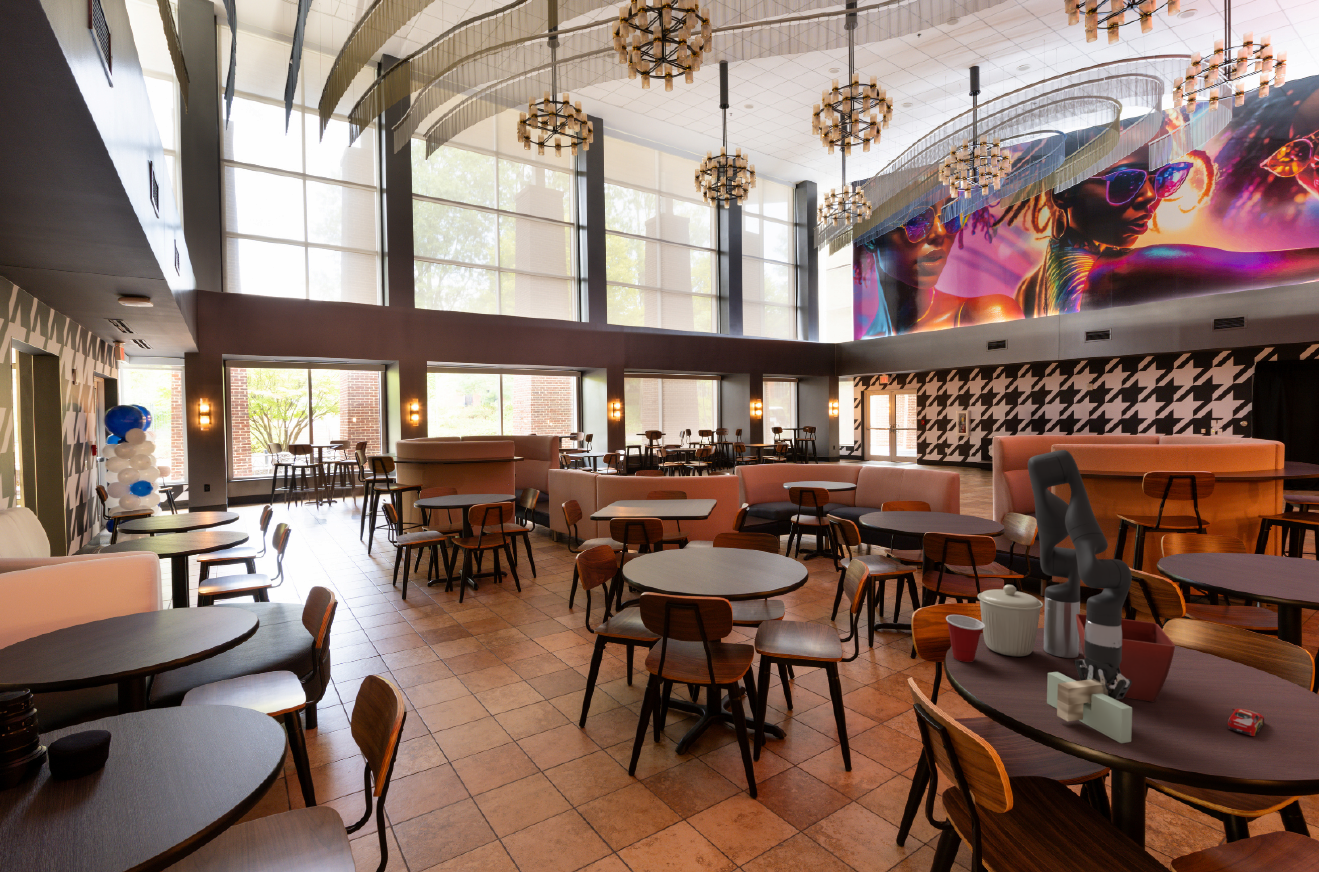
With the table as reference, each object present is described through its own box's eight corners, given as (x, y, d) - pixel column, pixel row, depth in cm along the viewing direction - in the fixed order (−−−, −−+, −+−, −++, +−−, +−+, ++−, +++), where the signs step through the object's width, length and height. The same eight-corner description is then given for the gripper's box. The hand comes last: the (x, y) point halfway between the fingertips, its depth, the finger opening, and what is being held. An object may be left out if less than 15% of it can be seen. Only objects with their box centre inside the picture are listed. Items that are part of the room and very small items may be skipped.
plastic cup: (978, 669, 181) (979, 629, 181) (940, 659, 189) (940, 620, 188) (988, 658, 189) (989, 619, 189) (951, 649, 196) (952, 612, 196)
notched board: (1046, 703, 160) (1047, 672, 160) (1056, 701, 161) (1057, 671, 160) (1120, 743, 140) (1121, 709, 140) (1131, 741, 141) (1132, 707, 141)
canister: (1030, 667, 183) (1032, 597, 182) (967, 649, 196) (968, 584, 195) (1049, 651, 195) (1051, 585, 194) (988, 636, 208) (990, 574, 207)
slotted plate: (1103, 709, 154) (1104, 677, 153) (1114, 715, 151) (1115, 683, 150) (1056, 715, 150) (1057, 683, 150) (1067, 721, 147) (1068, 688, 147)
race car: (1236, 715, 154) (1237, 699, 154) (1266, 723, 150) (1267, 707, 150) (1223, 730, 147) (1223, 714, 146) (1254, 740, 142) (1254, 723, 142)
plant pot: (1083, 695, 164) (1084, 633, 164) (1073, 669, 181) (1075, 612, 181) (1174, 711, 155) (1176, 646, 155) (1155, 682, 172) (1157, 623, 172)
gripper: (1065, 631, 157) (1063, 697, 157) (1118, 652, 143) (1115, 724, 144) (1089, 628, 159) (1087, 694, 159) (1143, 649, 145) (1141, 721, 146)
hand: (1101, 708), depth 152 cm, fingers closed on slotted plate, 3 cm apart
